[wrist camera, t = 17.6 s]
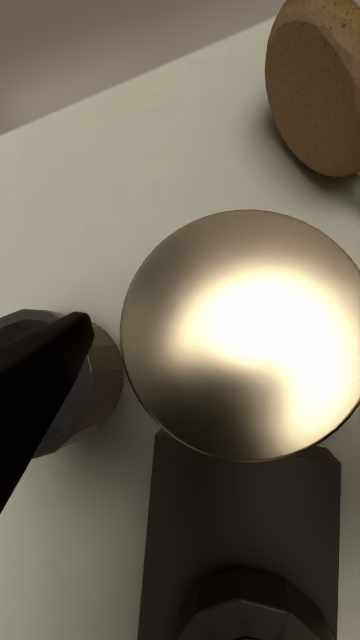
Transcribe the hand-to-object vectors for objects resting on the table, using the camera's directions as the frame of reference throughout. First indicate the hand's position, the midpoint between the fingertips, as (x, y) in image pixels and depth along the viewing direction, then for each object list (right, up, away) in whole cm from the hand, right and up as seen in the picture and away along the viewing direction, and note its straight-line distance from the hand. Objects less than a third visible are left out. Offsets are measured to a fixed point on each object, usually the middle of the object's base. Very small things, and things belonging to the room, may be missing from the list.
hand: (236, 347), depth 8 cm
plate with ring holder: (+1, -11, +6) cm, 12 cm away
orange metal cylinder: (+1, 0, +7) cm, 7 cm away
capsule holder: (-8, -3, +9) cm, 12 cm away
